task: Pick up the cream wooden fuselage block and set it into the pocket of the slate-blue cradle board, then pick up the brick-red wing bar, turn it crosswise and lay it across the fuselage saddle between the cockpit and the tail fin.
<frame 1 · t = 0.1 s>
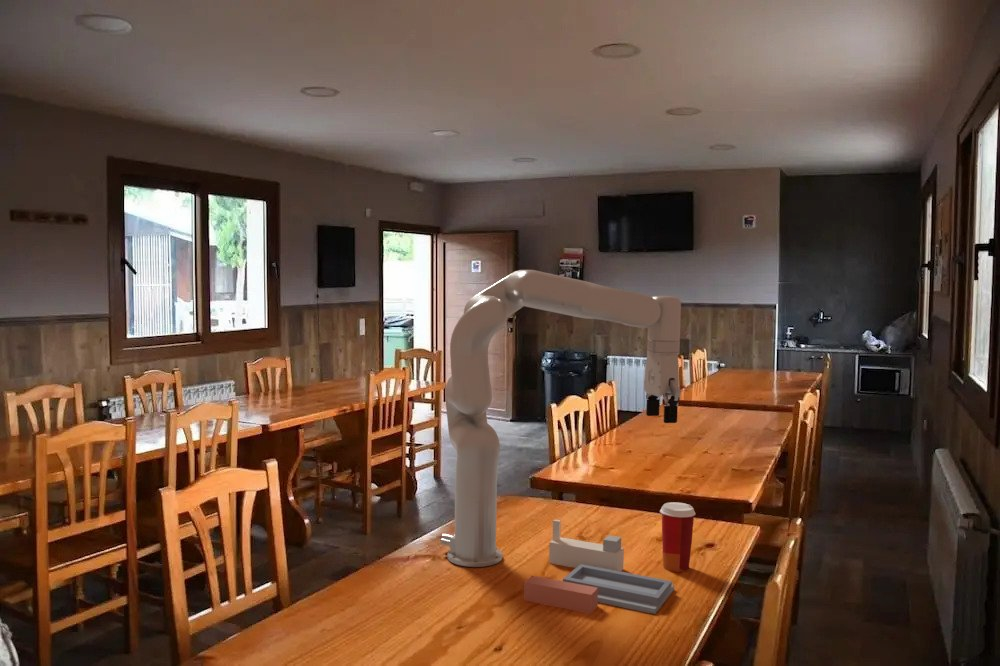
hand: (661, 419, 191), 31 cm above the table, tool pointing down, fingers open, 9 cm apart
fuselage: (585, 566, 180), on the table
cradle: (617, 591, 165), on the table
paper cup: (675, 568, 180), on the table
wing: (560, 604, 159), on the table
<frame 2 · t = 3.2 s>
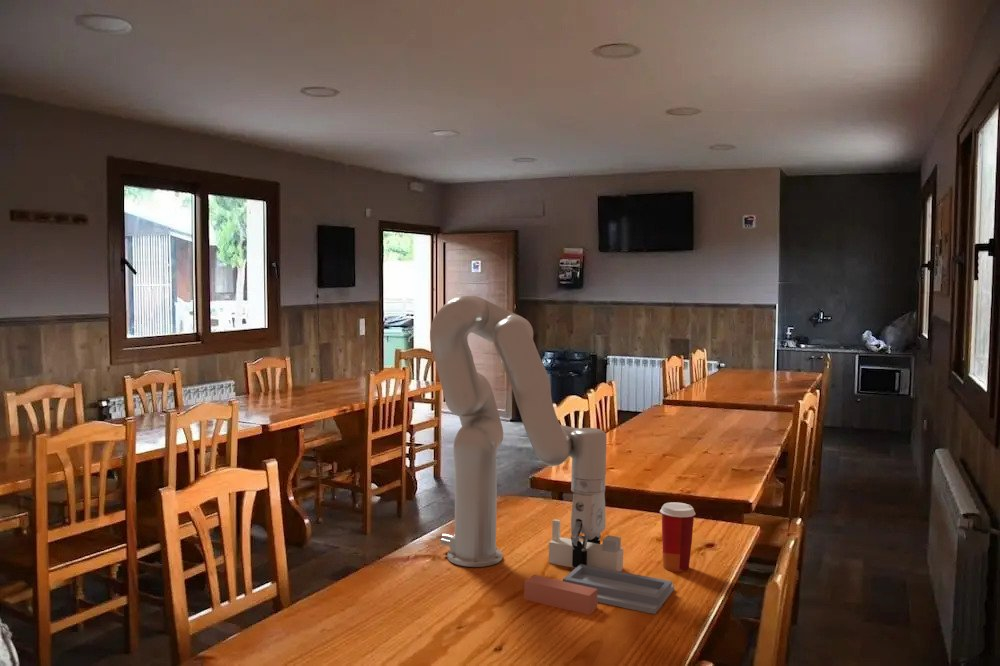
hand: (586, 561, 179), 1 cm above the table, tool pointing down, fingers open, 7 cm apart
nothing on the table moved.
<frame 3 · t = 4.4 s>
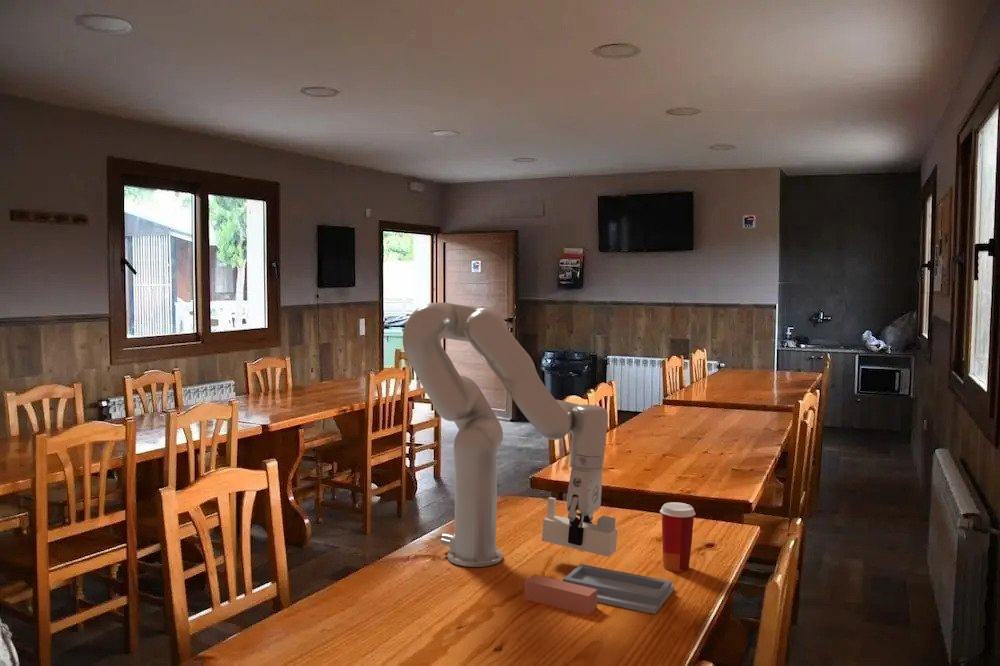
hand: (579, 540, 179), 6 cm above the table, tool pointing down, fingers closed on fuselage, 4 cm apart
fuselage: (578, 545, 180), point 4 cm above the table, touching gripper
everything else where it was.
when the fingers open (3 cm above the table, at t = 8.4 s): fuselage stays where it is, resting on cradle.
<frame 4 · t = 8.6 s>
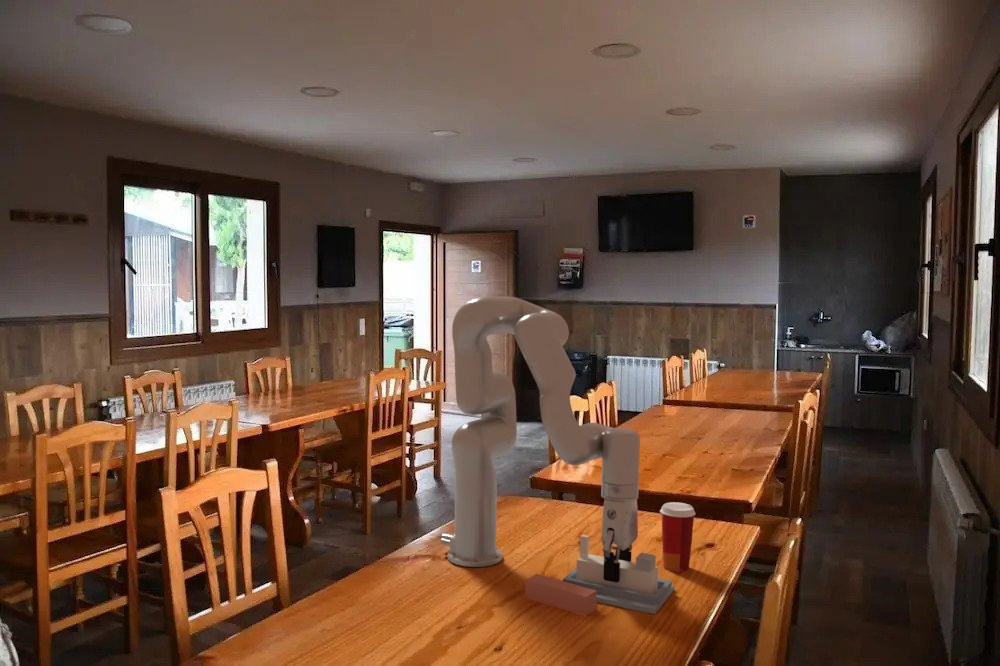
hand: (617, 574, 165), 4 cm above the table, tool pointing down, fingers open, 6 cm apart
fuselage: (616, 587, 165), point 1 cm above the table, touching cradle
everything else where it was.
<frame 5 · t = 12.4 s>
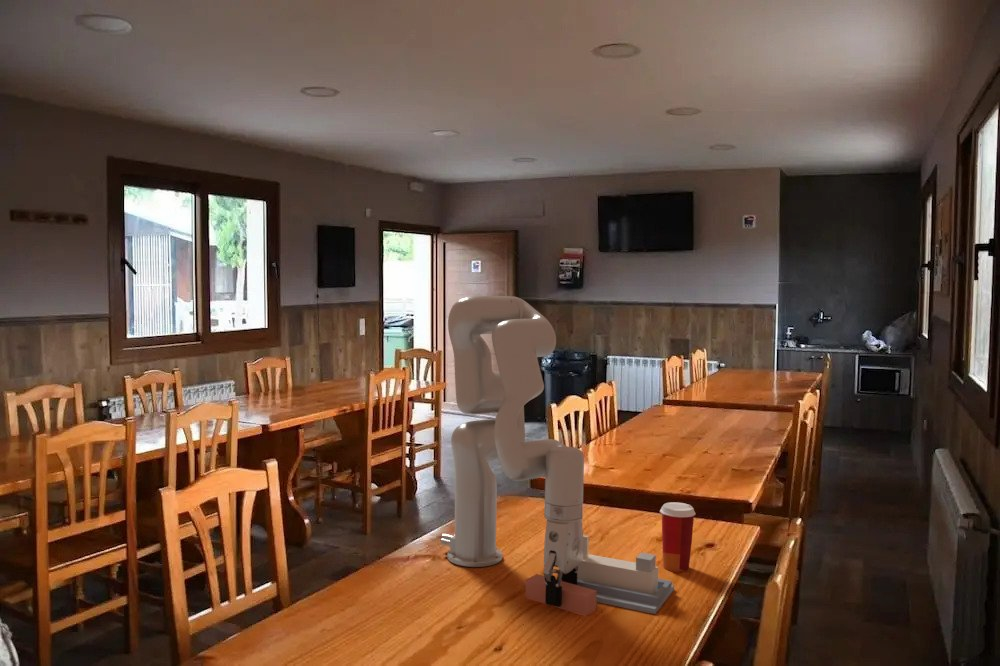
hand: (561, 597, 159), 1 cm above the table, tool pointing down, fingers open, 7 cm apart
nothing on the table moved.
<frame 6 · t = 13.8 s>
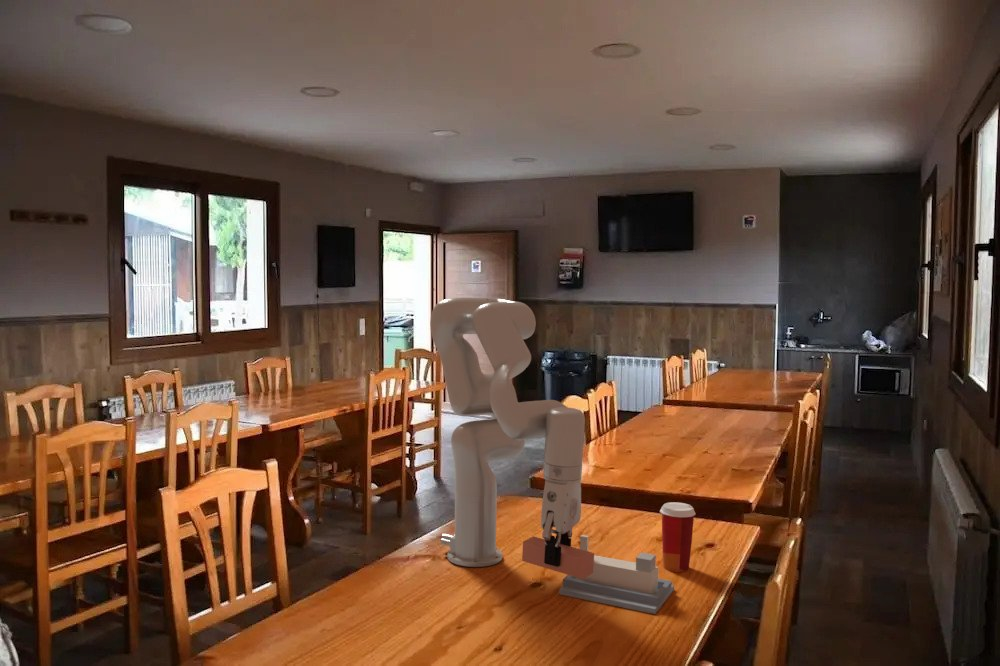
hand: (557, 559, 159), 8 cm above the table, tool pointing down, fingers closed on wing, 4 cm apart
wing: (557, 566, 159), point 7 cm above the table, touching gripper
everything else where it was.
when the fingers open (8 cm above the table, at t = 17.3 s): wing stays where it is, resting on fuselage.
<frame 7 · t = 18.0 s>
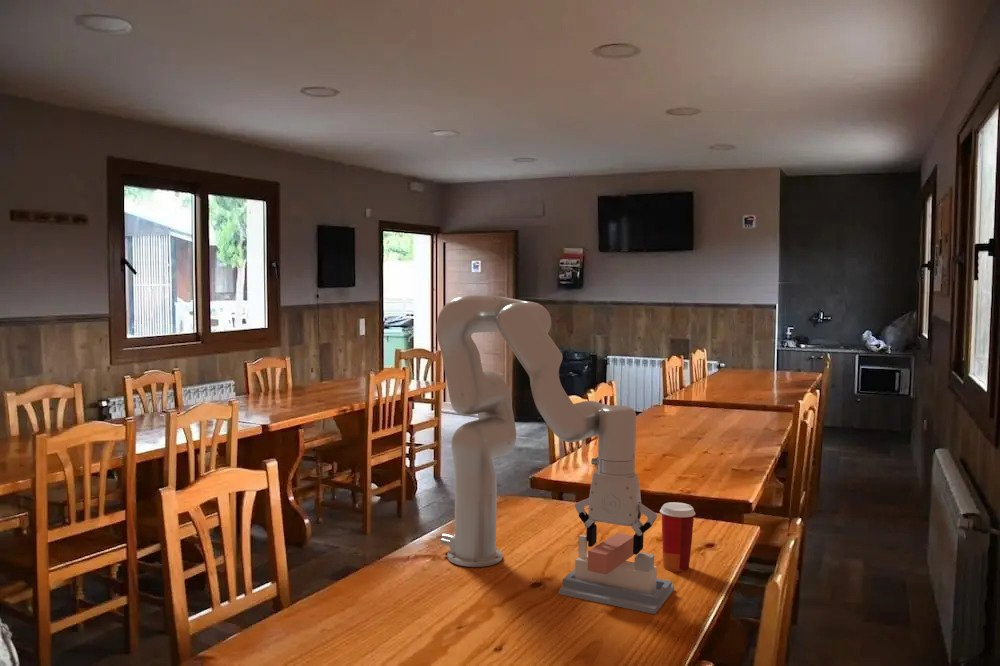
hand: (614, 548, 165), 9 cm above the table, tool pointing down, fingers open, 9 cm apart
fuselage: (615, 586, 165), point 1 cm above the table, touching cradle, gripper, wing
wing: (611, 562, 165), point 6 cm above the table, touching fuselage
everything else where it was.
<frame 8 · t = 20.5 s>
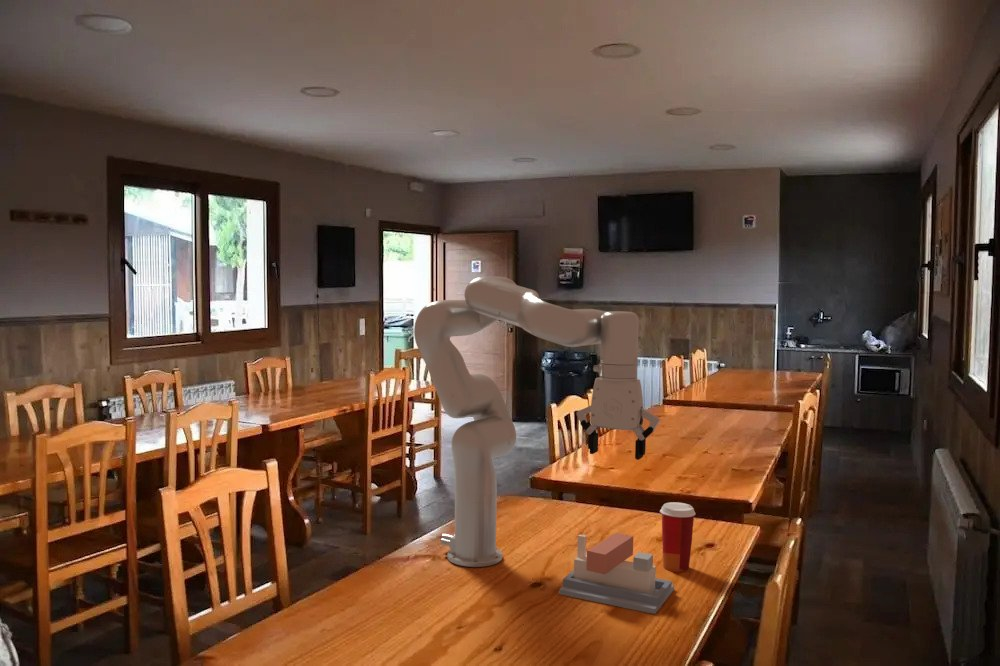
hand: (616, 455, 163), 28 cm above the table, tool pointing down, fingers open, 9 cm apart
fuselage: (613, 586, 165), point 1 cm above the table, touching cradle, wing
everything else where it was.
at the end: fuselage 0.7 cm off-centre on the cradle, point 1.0 cm above the cradle's base; wing inside the target area on the fuselage (0.1 cm from its centre), point 5.0 cm above the fuselage's base; the gripper is holding nothing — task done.
